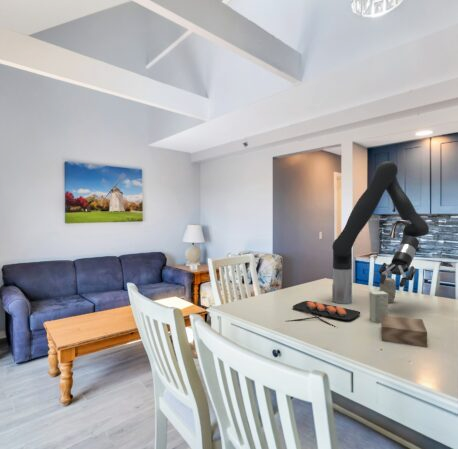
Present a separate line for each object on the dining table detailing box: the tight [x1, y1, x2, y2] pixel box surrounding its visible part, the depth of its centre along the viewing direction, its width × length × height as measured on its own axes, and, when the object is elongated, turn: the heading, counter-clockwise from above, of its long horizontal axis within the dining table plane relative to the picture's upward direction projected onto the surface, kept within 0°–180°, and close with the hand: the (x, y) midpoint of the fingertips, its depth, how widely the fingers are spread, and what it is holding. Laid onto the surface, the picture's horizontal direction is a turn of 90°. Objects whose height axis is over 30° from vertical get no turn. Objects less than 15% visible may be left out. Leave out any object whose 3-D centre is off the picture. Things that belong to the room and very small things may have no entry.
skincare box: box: [369, 290, 389, 323], centre depth 134 cm, size 6×4×12 cm
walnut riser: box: [380, 315, 428, 347], centre depth 117 cm, size 14×14×5 cm
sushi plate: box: [284, 300, 361, 328], centre depth 141 cm, size 29×30×4 cm
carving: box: [379, 277, 397, 304], centre depth 161 cm, size 6×8×12 cm
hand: (390, 284), depth 139 cm, fingers open, 8 cm apart
